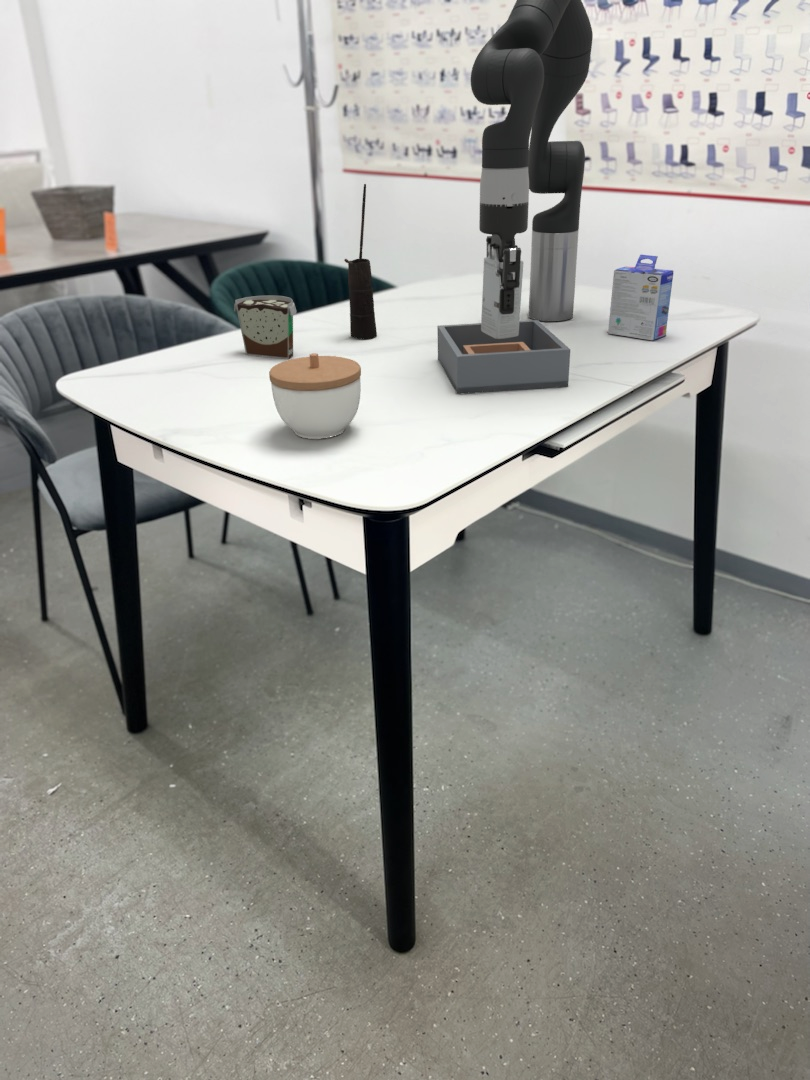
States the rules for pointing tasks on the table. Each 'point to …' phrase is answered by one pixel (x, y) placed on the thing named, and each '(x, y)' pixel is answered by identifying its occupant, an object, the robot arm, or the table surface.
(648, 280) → the ink cartridge box
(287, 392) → the lidded bowl
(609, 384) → the table surface
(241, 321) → the food container
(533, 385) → the walled box
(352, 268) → the butter churn
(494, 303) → the skincare box
